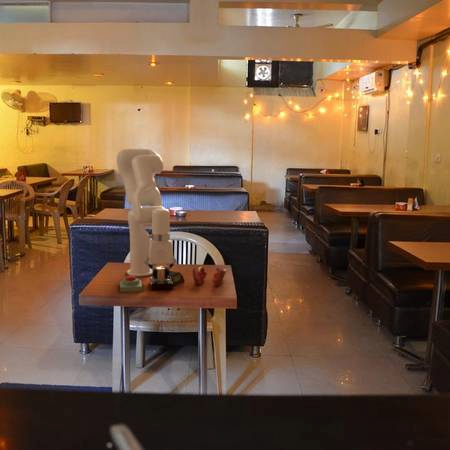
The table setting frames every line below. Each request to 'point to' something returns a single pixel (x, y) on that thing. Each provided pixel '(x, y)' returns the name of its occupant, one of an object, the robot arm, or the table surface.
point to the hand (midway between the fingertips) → (160, 278)
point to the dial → (160, 273)
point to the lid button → (130, 278)
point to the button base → (130, 285)
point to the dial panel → (160, 284)
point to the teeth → (201, 274)
